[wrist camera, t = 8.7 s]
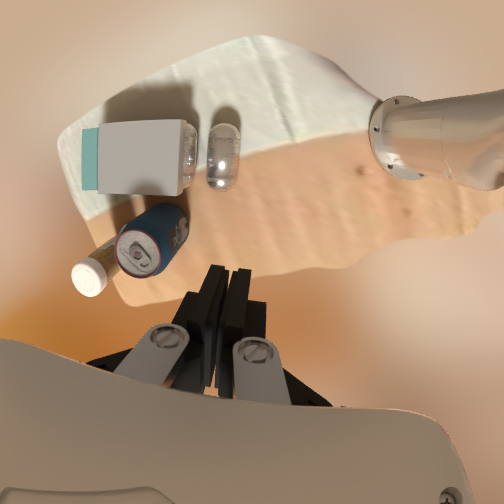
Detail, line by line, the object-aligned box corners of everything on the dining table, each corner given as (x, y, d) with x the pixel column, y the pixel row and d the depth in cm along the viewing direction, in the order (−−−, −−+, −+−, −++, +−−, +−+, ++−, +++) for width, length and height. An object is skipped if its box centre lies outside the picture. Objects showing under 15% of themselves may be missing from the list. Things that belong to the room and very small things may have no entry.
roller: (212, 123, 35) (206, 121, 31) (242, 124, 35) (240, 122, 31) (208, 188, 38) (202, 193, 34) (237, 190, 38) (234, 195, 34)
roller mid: (172, 123, 35) (163, 121, 31) (201, 123, 35) (194, 120, 31) (169, 186, 38) (160, 191, 34) (197, 188, 38) (190, 192, 34)
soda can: (138, 221, 40) (99, 250, 29) (169, 191, 39) (135, 211, 27) (168, 255, 42) (138, 294, 31) (201, 227, 40) (178, 260, 29)
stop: (122, 128, 35) (97, 127, 29) (121, 181, 38) (97, 190, 32) (108, 129, 35) (82, 129, 29) (107, 181, 38) (82, 190, 32)
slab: (186, 120, 31) (180, 119, 29) (182, 192, 34) (177, 196, 32) (108, 124, 31) (98, 123, 29) (107, 190, 34) (98, 193, 32)
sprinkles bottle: (145, 252, 42) (106, 295, 30) (122, 258, 43) (80, 300, 30) (136, 225, 40) (90, 259, 28) (112, 232, 41) (64, 267, 29)
